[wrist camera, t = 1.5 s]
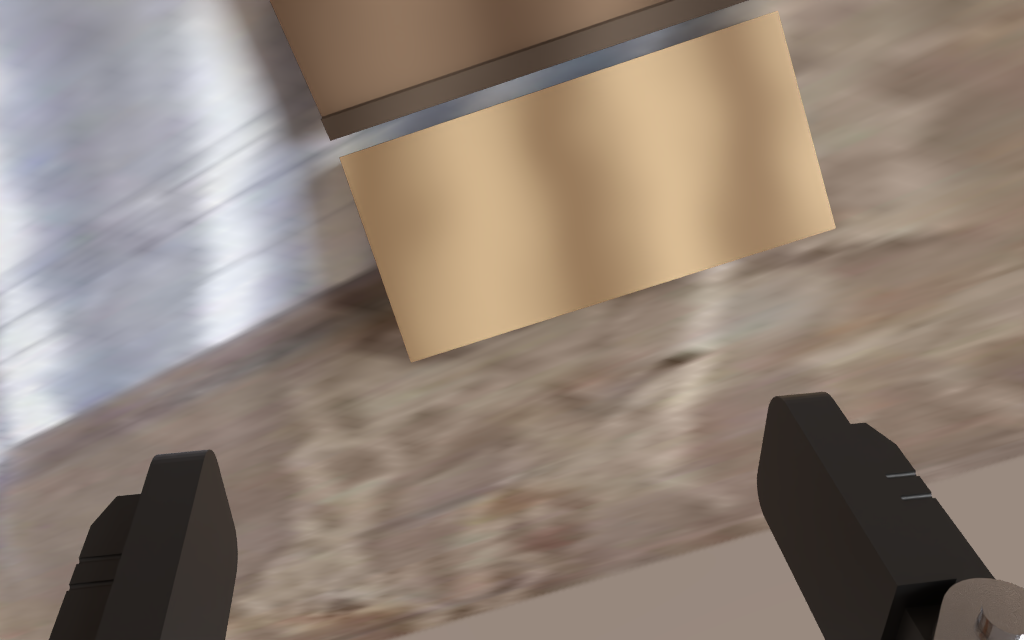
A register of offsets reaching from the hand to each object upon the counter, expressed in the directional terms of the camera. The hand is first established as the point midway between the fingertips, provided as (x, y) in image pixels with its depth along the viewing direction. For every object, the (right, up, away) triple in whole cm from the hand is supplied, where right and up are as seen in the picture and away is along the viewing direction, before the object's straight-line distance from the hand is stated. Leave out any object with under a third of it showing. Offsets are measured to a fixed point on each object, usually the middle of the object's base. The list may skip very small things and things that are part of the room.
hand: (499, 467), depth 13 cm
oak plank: (+3, +7, +21) cm, 22 cm away
